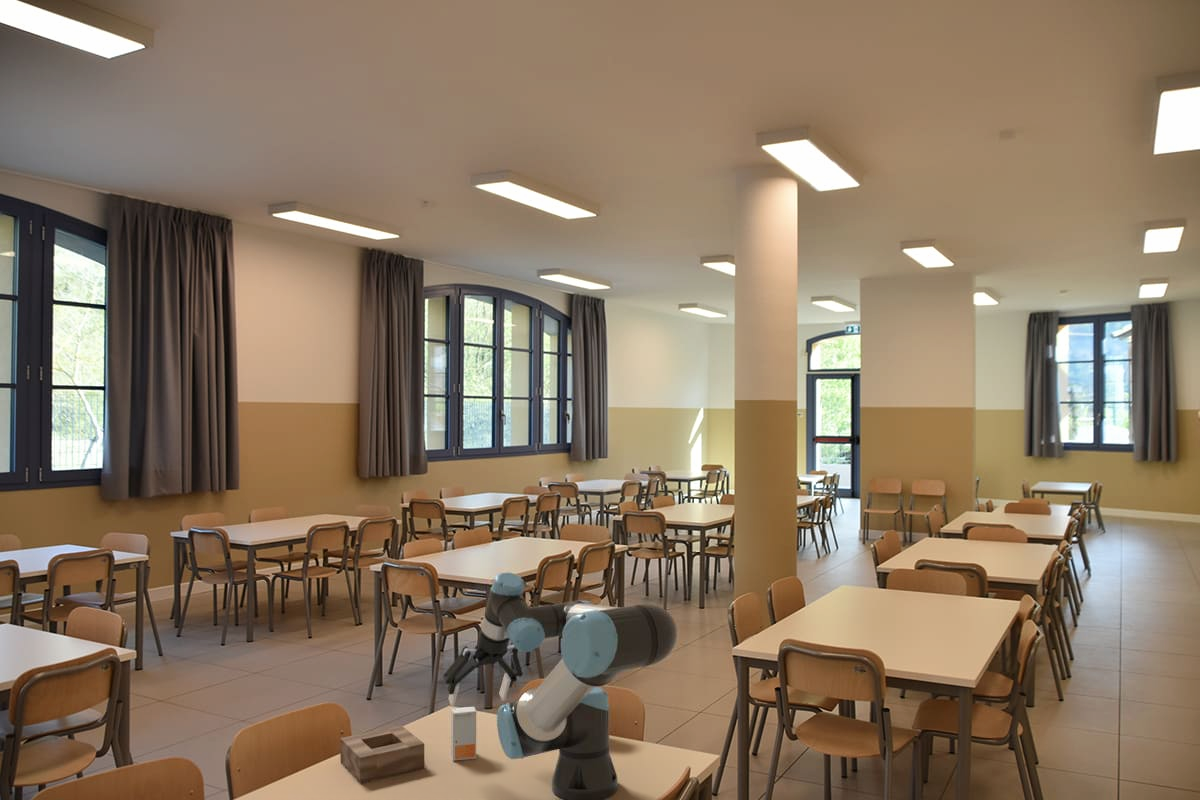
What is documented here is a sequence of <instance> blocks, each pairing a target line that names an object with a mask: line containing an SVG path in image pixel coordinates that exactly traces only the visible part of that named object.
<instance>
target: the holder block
mask: <svg viewBox="0 0 1200 800" xmlns="http://www.w3.org/2000/svg"><path fill="white" fill-rule="evenodd" d="M339 743H340V744H339V745H340V747H339V750H340V759H339V760H340V764H341V763H342V764H343V765H344V766H345V767H346V768H347V769H348V770H349V771H348V770H347V769H346V768H345V767H344V766H343V765H342V764H341V765H342V766H343V767H344V768H345V769H346V770H347V771H348V772H349V773H350V772H351V773H350V774H351V776H353V777H355V778H356V779H357V780H356V779H355V778H354V779H355V780H356V781H357V782H358V781H359V782H358V783H359V784H360V783H361V784H364V783H363V782H365V783H367V782H366V781H369V782H372V781H371V780H373V781H376V780H375V779H377V780H381V779H380V778H382V779H385V778H384V777H386V778H389V777H388V776H390V777H394V776H397V774H398V775H402V774H406V773H411V772H415V771H418V769H419V770H422V769H423V770H424V769H425V743H424V742H423V741H422V740H421V739H420V738H418V737H417V736H416V735H415V734H413V733H412V732H411V731H409V730H408V729H407V728H405V727H404V726H402V725H398V726H393V727H388V728H387V727H386V728H384V729H379V730H374V731H370V732H364V733H359V734H355V735H349V736H345V737H340V740H339ZM401 773H402V774H401ZM393 775H394V776H393Z"/></svg>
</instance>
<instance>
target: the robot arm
mask: <svg viewBox="0 0 1200 800" xmlns="http://www.w3.org/2000/svg"><path fill="white" fill-rule="evenodd" d="M524 592H525V581H524V580H523V578H522V577H521V576H520V575H518V574H515V573H513V572H508V571H507V572H500V573H498V574H497V575H495V577H494V579H493V581H492V584H491V587H490V590H489V595H488V599H487V603H486V606H485V611H484V615H483V618H482V622H481V625H480V629H479V632H478V633H479V634H478V636H477V641H476V646H474V647H473V648H469V646H467V645H465V646H464V647H462V650H461V652H460V654H459V655H458V657H457V658H455V660H454V661H453V663H452V664H451V665H450V667H449V668H448V669H447V670H446V671H445V673H443V678H444V681H445V684H447V685H448V686H447V692H448V702H449V704H450V706H451V708H452V707H455V704H456V701H457V697H458V693H459V690H460V682H462V680H463V679H465V678H466V677H467V676H468V675H469V674H470V673H472V672H473V671H474V670H475V669H478V668H480V667H481V666H487V665H495V664H496V663H498V664H499V665H500V666H501V668H502V669H503V670H504V672H505V673H504V675H503V679H502V681H501V686H500V689H499V692H498V694H499V696H500V699H501V700H502V702H505V701H506V699H507V695H508V693H509V690H510V689H512V687H513V684H514V682H516V681H517V677H520V678H521V677H522V676H523V670H522V667H521V664H520V663H521V662H520V660H519V657H518V652H523V653H529V652H533V650H535V649H537V648H539V647H540V646H541V645H542V644H543V642H544V640H546V639H552V638H555V637H556V638H557V637H562V638H561V639H560V652H561V659H560V661H558V663H557V664H556V665H555V667H554V668H553V669H552V670H551V672H550V673H549V674H547V676H546V677H545V678H544V679H543V681H542V682H541V684H539V686H537V687H534V688H532V689H529V690H527V691H526V692H524V693H523V694H522V695H521V697H520V698H518V700H517V701H514V702H511V703H510V702H506V703H505V704H501V705H500V707H498V710H497V713H496V714H497V715H496V726H497V728H496V729H497V735H498V740H499V742H500V746H501V749H502V750H503V753H504V755H506V757H507V758H508V759H511V760H517V759H518V760H519V759H521V760H522V759H524V758H528V757H532V756H536V755H539V754H543V753H548V752H552V751H557V750H558V751H559V752H558V753H559V754H558V757H557V760H556V763H555V764H556V765H555V768H554V772H553V775H552V778H551V779H552V780H551V789H552V790H551V791H552V792H553V794H554V795H556V796H557V797H558V798H560V799H563V800H604V799H606V798H608V797H609V798H610V797H611V796H612V795H613V794H615V793H616V792H617V791H618V783H619V782H618V774H617V772H616V769H615V766H614V763H613V760H612V756H611V754H610V753H611V752H610V711H611V709H610V701H609V696H608V692H607V691H606V690H605V689H603V687H605V686H606V685H608V684H610V683H611V682H613V680H614V679H615V678H616V677H617V676H618V675H619V674H620V673H621V672H624V671H626V670H632V669H637V668H643V667H649V666H654V665H655V664H658V663H660V662H662V661H663V660H664V659H666V658H667V657H669V655H670V654H671V653H672V651H673V649H674V648H675V646H676V644H677V643H676V642H677V637H678V628H677V624H676V622H675V620H674V617H673V616H672V615H671V613H670V612H669V611H668V610H666V609H665V608H663V607H662V606H659V605H657V604H656V605H655V604H650V603H649V604H648V603H647V604H645V603H643V604H635V605H628V606H621V607H620V606H619V607H618V606H612V605H611V606H609V605H601V604H600V605H599V604H593V603H591V602H590V601H589V600H572V601H568V602H561V603H553V604H545V605H537V606H529V604H528V602H527V601H526V599H525V598H524V597H523V594H524ZM510 642H511V643H510ZM509 643H510V644H509ZM507 653H508V654H509V655H510V657H511V660H512V661H511V662H512V664H513V668H514V669H513V668H512V667H511V666H510V665H509V663H508V662H507V661H506V660H505V658H504V656H506V654H507Z"/></svg>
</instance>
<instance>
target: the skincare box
mask: <svg viewBox="0 0 1200 800" xmlns="http://www.w3.org/2000/svg"><path fill="white" fill-rule="evenodd" d="M450 712H451V713H450V714H451V715H450V717H451V723H450V724H451V725H450V726H451V728H450V729H451V733H450V736H451V737H450V738H451V748H450V749H451V753H450V755H451V759H452V761H453V762H454V761H455V762H456V761H463V760H474V759H475V760H476V759H477V710H476V707H475V706H465V707H464V706H463V707H458V708H457V707H456V708H451V711H450Z"/></svg>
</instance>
